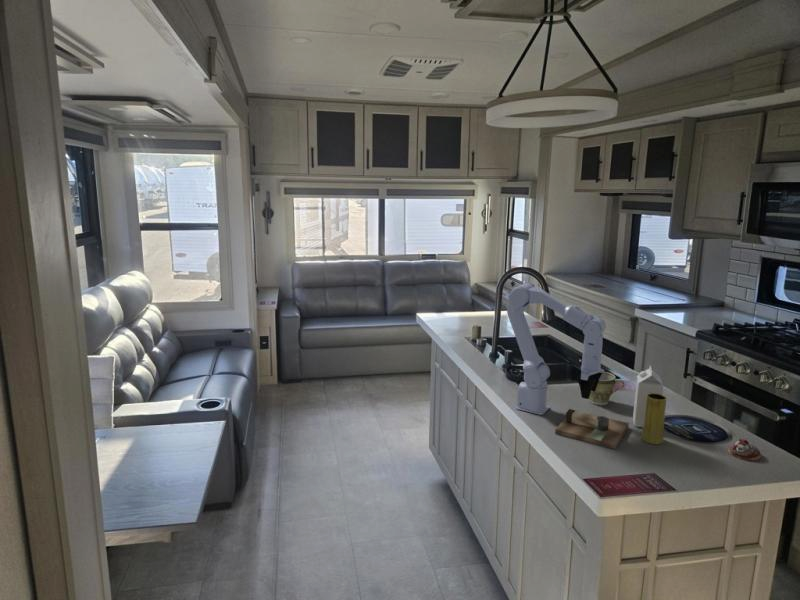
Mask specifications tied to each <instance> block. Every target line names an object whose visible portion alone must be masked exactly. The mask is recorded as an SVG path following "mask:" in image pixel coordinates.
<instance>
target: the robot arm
mask: <svg viewBox="0 0 800 600" xmlns="http://www.w3.org/2000/svg"><path fill="white" fill-rule="evenodd" d="M507 297H508V298H507V299H508V301H507V308H506V309H507V310H506V314H507V317H508V319H509V321H510V324H511V328H512V331H513V333H514V336H515V339H516V343H517V345H518V348H519V351H520V353H521V355H522V359H523V365H522V369H523V380H524V381H521V382H520V383H519V384H518V389H517V402H516V408H515V409H517V410H520V411H524V412H528V413H532V414H537V415H540V416H543V415H545V413H546V412H548V410H549V409H550V408H551V406H550V405H547V398H548V394H547V393H548V382H547V379H549V377H550V376H551V369H550V368H549V366H548V365H547V363H546V362H545V360H544V358H543V357H542V356H540V355H539V351H538V349H537V346H536V344H535V340H534V337H533V335H532V332H531V329H530V326H529V323H528V321H527V318H526V316H525V311H526V309H527V307H528V306H529V304H530V305H531V304H534V305H535V304H541V305H544V306H545V307H547V308H549V309H551V310H552V311H554V312H556V313H558V314H560V315H561V316H562V319H563V321H565V322H567V323H568V324H570V325H572V326H573V327H575V328H577V329H579V330H580V331H582V334H583V335H584V340H583V344H582V345H583V348H582V357H581V358H582V359H581V366H580V371H581V373H580V375H579V374H578V375H577V376H576V382H577V383H578V386H579V391H580V395H581V398H582V399H587V400H589V397H590V393H591V391H594V392H595V390H596V388H597V385H598V381H599V379H600V377H601V375H602V373H603V372H605V369H603V368H602V367H601V363H602V354H603V353H602V351H603V345H604V343H603V342H604V341H603V339H604V332H605V330H606V328H607V327H606V326H607V325H606V321H605V320H604V319H603V318H602V317H601V316H598V315H594V314H593V313H588V312H586V311H585V310H583V309H582V308H581V306H580V305H578V304H577V305H574V304H571V305H567V304H565V303H564V302H563V301H561V300H560V299H558V298H556V297H554V296H553V295H552V294H550V293H548V292H547V291H545V290H544V289H542V288H541V287H540V286H538V285H535V284H533V282H530V281H529V282H524V283H522V284H519V286H515V287H513V288H512V289H511V290H510V292H509V293H508V296H507Z"/></svg>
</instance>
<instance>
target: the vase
mask: <svg viewBox="0 0 800 600" xmlns="http://www.w3.org/2000/svg"><path fill="white" fill-rule="evenodd" d="M666 404H667V397H666V396H665V395H664V394H662V395H661V394H657V393H650V394H648V395H647V403H646V410H645V418H644V425H643V427H642V435H641V440H642V441H644V442H645V443H647V444H651V445H661V444H663V443H664V432H665V417H666V416H665V415H666V409H667V408H666V406H667V405H666Z"/></svg>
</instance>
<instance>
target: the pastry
mask: <svg viewBox="0 0 800 600" xmlns="http://www.w3.org/2000/svg"><path fill="white" fill-rule="evenodd" d="M728 453H729V454H730V455H731V456H732V455H733V456H732V457H734V458H737V459H738V460H742V461H747V462H757V461H760V460H761V458H762V457H761V456H762V454H761V451H760V450H759V448H757V447H756V446H755V445H754V444H752V443H750V442H749V441H748V440H747V439H744V438H739V439H738V440H737V441H735V443H732V444H731V445H730V446H729V447H728Z"/></svg>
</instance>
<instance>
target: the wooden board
mask: <svg viewBox="0 0 800 600" xmlns="http://www.w3.org/2000/svg"><path fill="white" fill-rule="evenodd" d="M578 412H580V411H578ZM581 412H582V411H581ZM582 413H584V412H582ZM585 413H586V414H588V413H587V412H585ZM590 414H591V413H590ZM591 415H593V414H591ZM594 415H595V414H594ZM595 416H597V415H595ZM607 418H608V419H609V426H608V430H607V431H601V430H598V429H595V428H591V427H587V426H582V425H578V424H574V423H570V422H566V417H565V418H564V419H563V420H562V421H561V422H560V424H559V425H557V427H556V428H555V429H554V430H555V432H554V434H556V435H560V436H563V437H565V438H566V437H567V438H571V439H574V440H579V441H581V442H582V441H583V442H586V443H589V444H594V445H598V446H601V447H605V448H609V449H613V450H616V448H617V447H618V446H619V443H620V441H621V440H622V438H623V437H624V435H625V434H626V433H627V430H628V429H629V424H630V423H629V422H625V421H620V420H617V419H613V418H609V417H607Z"/></svg>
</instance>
